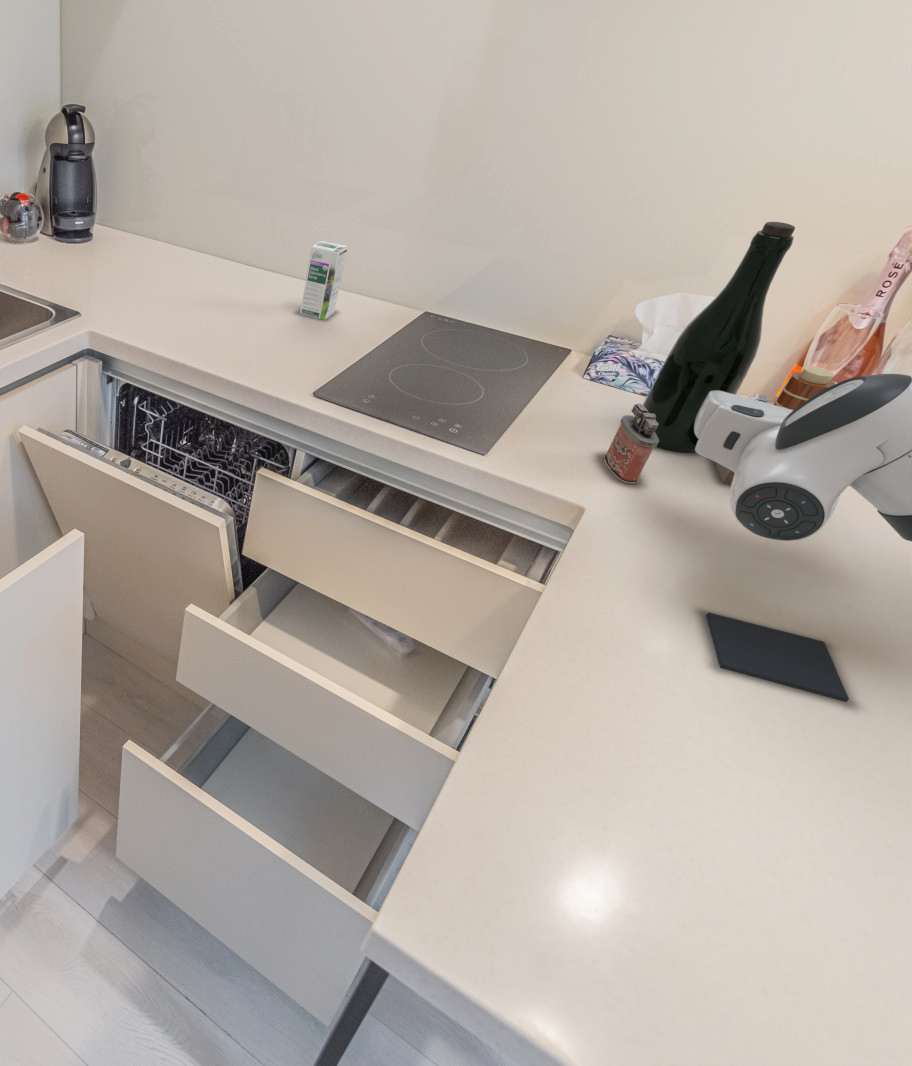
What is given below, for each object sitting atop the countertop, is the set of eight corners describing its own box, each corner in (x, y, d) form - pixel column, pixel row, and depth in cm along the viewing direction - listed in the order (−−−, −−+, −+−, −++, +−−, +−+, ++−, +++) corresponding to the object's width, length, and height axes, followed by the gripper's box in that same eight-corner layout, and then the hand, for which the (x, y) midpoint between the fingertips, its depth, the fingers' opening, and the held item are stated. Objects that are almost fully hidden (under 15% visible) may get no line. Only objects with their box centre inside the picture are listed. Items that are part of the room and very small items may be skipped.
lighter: (641, 488, 109) (673, 427, 103) (616, 486, 109) (647, 425, 103) (620, 460, 115) (649, 400, 109) (596, 457, 116) (624, 398, 110)
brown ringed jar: (790, 439, 109) (836, 367, 102) (799, 456, 105) (847, 382, 99) (748, 431, 111) (791, 360, 104) (756, 447, 107) (801, 374, 100)
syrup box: (298, 316, 160) (310, 245, 152) (309, 308, 164) (322, 239, 155) (323, 322, 158) (337, 251, 149) (334, 314, 162) (349, 244, 153)
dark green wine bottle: (720, 449, 119) (848, 230, 99) (674, 461, 115) (797, 238, 95) (659, 419, 126) (766, 210, 106) (614, 429, 123) (717, 216, 103)
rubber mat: (818, 647, 84) (824, 641, 83) (843, 705, 77) (849, 699, 76) (703, 618, 87) (708, 611, 87) (717, 671, 81) (722, 664, 80)
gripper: (930, 463, 79) (928, 417, 88) (704, 401, 90) (722, 365, 98) (891, 512, 83) (893, 464, 92) (679, 447, 93) (698, 409, 102)
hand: (803, 412), depth 95 cm, fingers open, 8 cm apart
